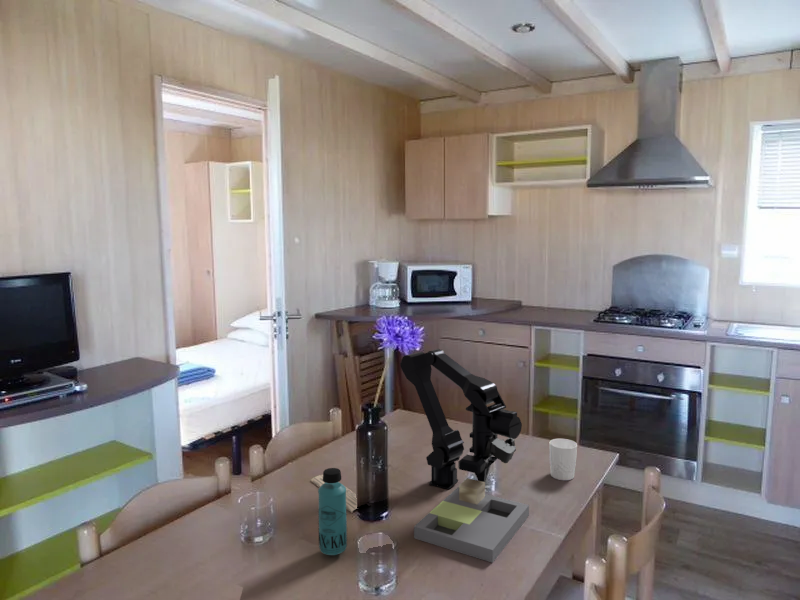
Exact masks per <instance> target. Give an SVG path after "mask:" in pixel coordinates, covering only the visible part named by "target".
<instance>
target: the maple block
mask: <svg viewBox="0 0 800 600" xmlns="http://www.w3.org/2000/svg"><path fill="white" fill-rule="evenodd" d="M485 494H486V482H482V481H478V479H473V478H469V477H468V478H466V479H465V480H464V481H462V482H461V483H460V484H459V500H461V501H465V502H469V503H473V504H478V503H479V502H480V501H481V500H482V499H483V498H484V497H485Z"/></svg>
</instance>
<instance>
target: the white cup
mask: <svg viewBox="0 0 800 600" xmlns="http://www.w3.org/2000/svg"><path fill="white" fill-rule="evenodd" d="M548 444H549V445H548V446H549V467H550V477H552V478H553V479H555V480H557V481H558V480H560V481H570V480H573V479H574V478H575V471H576V470H575V469H576V463H577V462H576V461H577V450H578V443H577V442H576V441H574V440H572V439H567V438H553V439H551V440H550V441H549V442H548Z"/></svg>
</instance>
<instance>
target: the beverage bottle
mask: <svg viewBox="0 0 800 600" xmlns="http://www.w3.org/2000/svg"><path fill="white" fill-rule="evenodd" d="M322 475H323V481H324V482H326V483H324V484H323V485H322V486H321V487H320V488H319V487H318V490H317V492H318V511H317V512H318V516H317V517H318V522H317V524H318V527H317V528H318V548H319V551H320V552H321V553H322V554H324V555H327V556H337V555H341V554H342V553H344V551H346V549H347V545H348V526H347V524H348V523H347V509H346V488H345V487H346V486H345V484H343V483H341V482H340V481H341V480H342V473H341V469H339V468H337V467H329V468H326V469H324V470H323V473H322Z"/></svg>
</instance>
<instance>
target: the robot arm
mask: <svg viewBox="0 0 800 600" xmlns="http://www.w3.org/2000/svg"><path fill="white" fill-rule="evenodd" d="M399 363H400V369H401V371H402V373H403V375H404V377H405V378H406V379H407V380H408V381H409V382H410V383H411V384H412V385H413V386H414V387H415V391H416V392H417V395H418V398H419V400H420V403H421V405H422V408H423V411H424V413H425V416H426V418H427V421H428V424H429V426H430V429H431V431H432V438H431V447H432V451H431V452H430V453H429V454H428V455H427V456H426V457H425V459H426V462H427V465H429V466H430V467H431V468H430V469H431V471H430V472H431V480H430V481H428V485H430V486H434V487H437V488H442V489H446V490H450V489H451V488H452V487H453V486H454V485H455V484H456V483H458V482H459V479H458V469H459V470H461V471H464V472H469V473H474V475H475V477H476V480H478V481H482V482H485V483H487V482H486V481H487V478H488V475H489V471H490V468H491V466H492V465H493V463H495V462H496V461H497V460H499V461H500V462H502V463H503V464H508V463H509V461H510V460H513V456H514V455H515V452H516V451H517V449H516V447H517V446H516V443H515V442H516V441H515V439H517V438H518V437H519V436H520V434H521V432H522V427H523V425H522V424H523V423H522V421H521V418H520V417H518V411H515V410H507V409H506V408H507V405H506V403H505V401H504V400H503V398H502V396H501V395H500V392H499V390H498V387H497V385H496V384H495V383H494V382H492V381H490V380H488V379H486V378H485V377H483V376H482V377H481V376H477V375H475V374H473V373H471V372H470V371H469V370H467V369H466V368H465V367H463V366H462V365H460V364H459V363H458V362H457V361H455V360H454V359H453V358H451V357H450V356H449V355H447V354H446V353H445V351H444V350H443V349H440V348H437V349H432V350H428V351H427V352H423V351H418V352H415V353H410V354H406V355H404V356H403V357H402V358H401V361H400V362H399ZM432 367H434V368H435V369H436V370H438V371H439V372H440V373H441V374H442V375H444V376H445V377H446V378H447V379H449V380H450V381H451V382H453V383H454V384H455V385H456V386H457V387H459V388H460V389H461V390H462V392H463V394H464V397H465V398H466V399H467V400H468V401H469V402H470V404H469V405H468V406H467V407H466V408H465V410H466V411H468V412H471V413H472V427H471V428H472V431H471V432H470V433H469V438H471V439H472V440H471V443H472V445H471V447H470V448H469V453H471V454H473V455H471V454H466V455H464V456H463V457H462V458H461V456H462V455H463V453H464V450H465V447H464V446H465V445H464V443H465V442H464V441H463V439H462V436H461V433H460V431H459V430H458V429H455V430H453V428H452V427H450V425H449V422H448V421H447V418H446V416H445V415H446V414H445V412H444V410H443V408H442V404H441V403H440V400H439V397H438V396H437V393H436V389H435V387H434V385H433V383H432V371H433V369H432ZM492 403H494V404H492ZM490 404H491V405H490ZM487 405H489V406H487ZM498 435H499V436H502V437H505V438H506V439H505V440H504V439H503V438H502V439H500V438H499V437H498ZM460 458H461V459H460ZM457 462H458V467H456V466H457V464H456V463H457Z"/></svg>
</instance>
